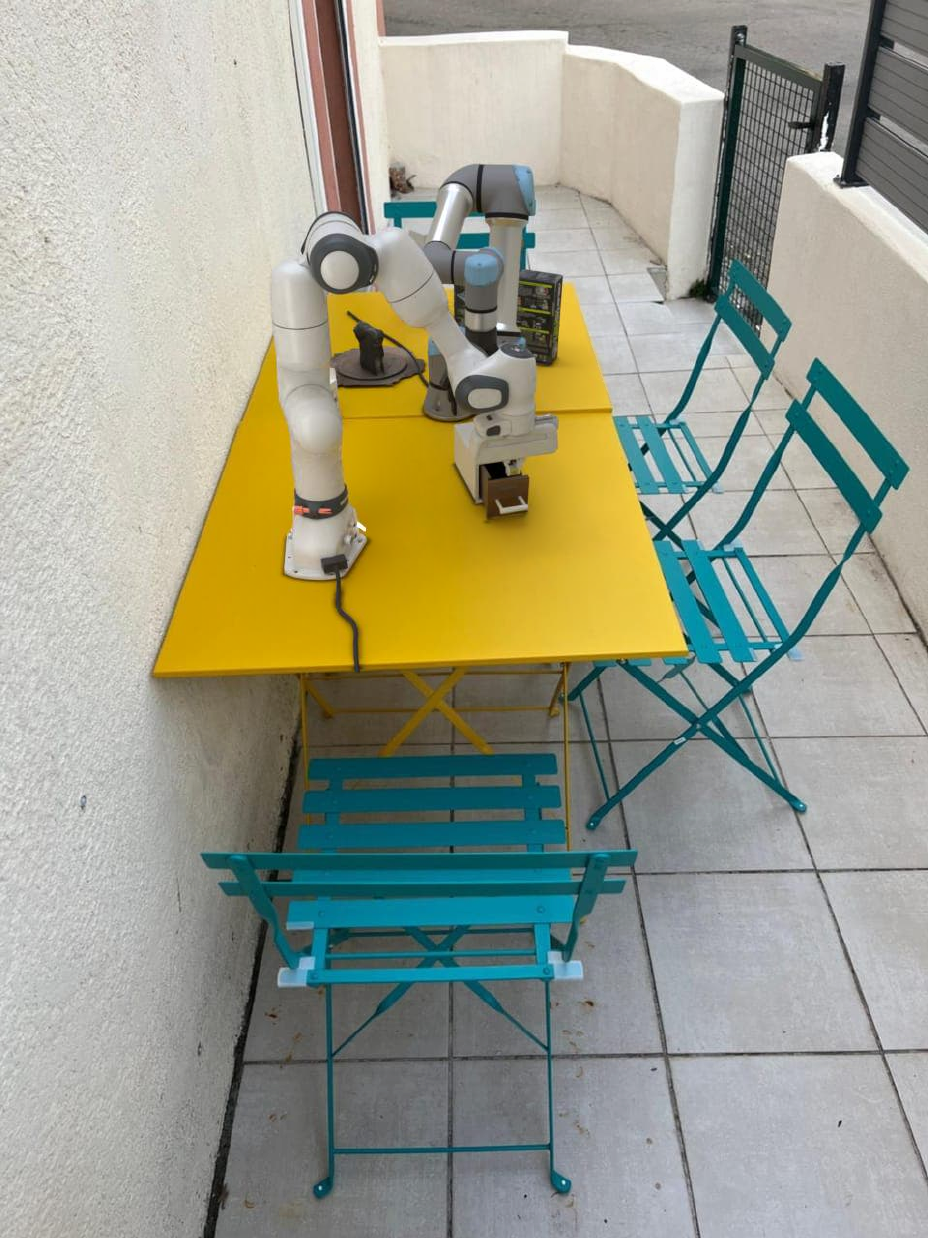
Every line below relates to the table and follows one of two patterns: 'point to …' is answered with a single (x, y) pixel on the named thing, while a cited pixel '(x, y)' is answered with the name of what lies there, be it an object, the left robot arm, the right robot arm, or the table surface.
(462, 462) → the cabinet
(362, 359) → the sculpture
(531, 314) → the box
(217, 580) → the table surface
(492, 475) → the drawer
